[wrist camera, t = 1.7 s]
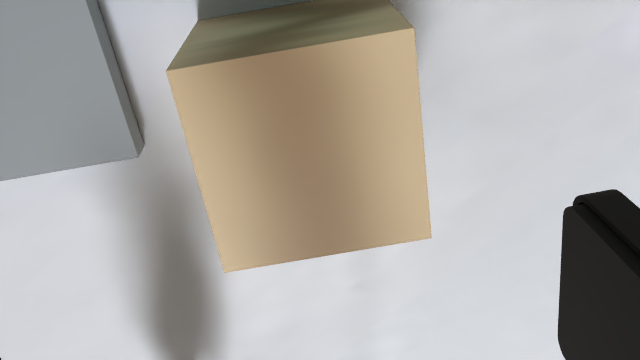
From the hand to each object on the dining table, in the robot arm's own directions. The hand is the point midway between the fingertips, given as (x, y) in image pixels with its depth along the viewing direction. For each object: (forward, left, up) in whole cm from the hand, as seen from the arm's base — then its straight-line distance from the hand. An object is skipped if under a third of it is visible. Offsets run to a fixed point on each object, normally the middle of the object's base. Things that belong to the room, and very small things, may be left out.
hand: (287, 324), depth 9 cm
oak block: (-1, 0, -12) cm, 12 cm away
